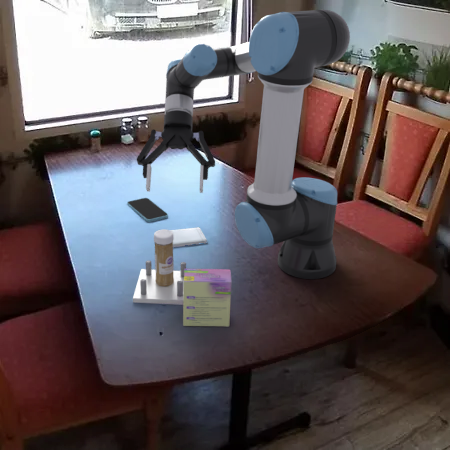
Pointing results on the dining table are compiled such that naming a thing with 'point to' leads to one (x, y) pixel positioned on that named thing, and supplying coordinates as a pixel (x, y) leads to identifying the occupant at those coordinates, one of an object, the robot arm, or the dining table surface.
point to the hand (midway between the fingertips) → (174, 190)
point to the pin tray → (159, 287)
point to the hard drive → (188, 237)
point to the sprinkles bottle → (164, 257)
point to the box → (206, 297)
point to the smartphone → (147, 209)
